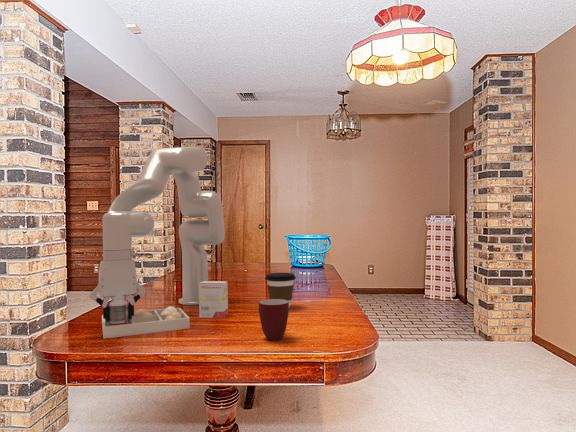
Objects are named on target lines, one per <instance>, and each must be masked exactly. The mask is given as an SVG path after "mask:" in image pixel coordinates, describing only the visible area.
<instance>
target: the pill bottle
mask: <svg viewBox="0 0 576 432" xmlns="http://www.w3.org/2000/svg"><path fill="white" fill-rule="evenodd" d="M126 297H127V296H122V295H118V296H114V297H110V299H111V300H110V301H108V307H109V326H116V325H125V324H129V302H130V301H129V299H126Z"/></svg>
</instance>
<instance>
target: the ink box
mask: <svg viewBox="0 0 576 432" xmlns="http://www.w3.org/2000/svg"><path fill="white" fill-rule="evenodd" d="M228 288H229V287H228V281H225V280H224V281H220V280H219V281H217V280H215V281H213V280H211V281H210V280H209V281H203V282H200V283H199V305H198V308H199V309H198V311H199V313H198V314H199V315H198V316H199V318H203V319H204V318H205V319H207V318H208V319H209V318H211V319H213V318H214V319H225V318H226V317H227V316H229V299H228V298H229V297H228V294H229V291H228V290H229V289H228Z"/></svg>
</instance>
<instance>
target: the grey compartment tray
mask: <svg viewBox="0 0 576 432" xmlns="http://www.w3.org/2000/svg"><path fill="white" fill-rule="evenodd" d="M175 308H176V309H177V312H179V313H180V314H181V316H182V318H180V319H171V320H164V319H165V318H166V317H167V316H168V314H163V315H160V314H161V312H163V311H164V310H165V308H162V309H151V310H147V311H148V312H150V313H152V314H153V316H143V317H134V316H132V319H129V324H125V325H116V326H109V321H108V322H106V318H105V319H103V314H102V315H101V328H102V329H101V330H102V338H103V339H104V340H105V339H113V338H119V337H127V336H128V337H129V336H138V335H146V334H155V333H162V332H163V333H164V332H171V331H179V330H185V329H186V330H187V329H191V324H190V323H191V322H190V320H191V318H190V317H189V315H188V314H187V313H186V312H185V311H184V310H183V309H182V308H181V307H175ZM135 313H136V311H134V315H135Z"/></svg>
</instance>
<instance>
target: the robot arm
mask: <svg viewBox="0 0 576 432" xmlns="http://www.w3.org/2000/svg"><path fill="white" fill-rule="evenodd" d="M208 160H209V159H208V155H207V152H206V150H205V149H204V148H203V147H202V146H187V147H185V146H184V147H183V146H182V147H176V146H175V147H165V148H164V147H161V148H155V149H154V150H152V151H151V152H150V153H149V154H148V157H147V159H146V161H145V163H144V165H143V168H142V169H141V172H140V174H139V175H138V177H137V179H136V181H135V182H134V183H132V184H131V185H130V186H128V187H127V188H125V190H123V191H122V192H121V193H120V194H118V195H117V196H116V197H115V198H114V199H113V201H112V203H111V205H110V206H109V208H108V211H107V212H106V213H104V214H103V215H102V220H101V221H102V253H103V254H102V258H103V259H102V260H101V261H100V263H99V267H98V284H97V286H96V287H95V288H94V289H93V290H92V291H91V292H90V294H89V295H88V296H89V298H90V299H92V300H93V301H95V302H96V303H97V304H98V305H99V306H100V307H102V315H103V319H105V318H106V322H108V321H109V307H108V303H109V302H110V301H109V300H110V299H111V297H114V296H118V295H122V296H126V297H127V299H128V302H129V319H132V316H134V312H135V304H136V303H137V302H138V301H139V300H140V299H141V297H143V296H144V295H145V294H146V293H147V290H146V289H145V288H144V287H143V286H142V285H141V284H140V283H139V282H138V277H137V276H138V275H137V269H136V262H135V259H132V258H133V257H135V256H138V251H137V250H134V249H132V237H145V236H147V235H149V234H150V233H151V232H153V230H154V227H155V220H154V218H153V217H152V215H151V214H150V213H148V212H147V211H140V210H139V211H137V210H136V211H135V210H134V211H132V210H133V209H135V208H136V207H138V206H139V205H142V204H144V203H147V202H149V201H153V200H154V199H156V198H158V197H159V196H161V195H162V194H163V192H164V189H165V186H166V184H167V182H168V180H169V178H170V175H172V177H173V179H174V180H175V184H176V187H177V196H178V204H179V210H180V213H181V214H182V215H183V216H184V217H188V218H207V219H189V220H188V219H187V220H185V221H182V223H181V224H180V225H179V228H178V235H179V240H180V241H179V242H180V246H181V266H182V267H181V269H182V273H181V274H182V276H181V278H182V280H181V281H182V297H181V298H179V299H178V303H179V304H180V305H184V306H197V305H198V306H199V283H200V282H203V281H208V280H209V278H208V273H209V272H208V271H209V270H208V267H209V266H208V254H207V251H206V250H205V249H204V247H203V246H205V245H206V246H207V245H208V246H210V245H211V246H212V245H213V246H215V245H220V244H222V243H223V241H224V240H225V236H226V229H225V220H224V211H223V210H224V209H223V202H222V199H221V196H220V195H219V194H218V193H217V192H216V191H208V190H207V191H202V188H201V184H200V183H201V182H200V177H199V175H198V174H197V172H200V171H203V170H205V168H206V167H207V164H208ZM138 291H139V292H138ZM97 294H99V296H100V297H99V296H98V295H97ZM133 295H134V296H133ZM102 298H103V299H102Z"/></svg>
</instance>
